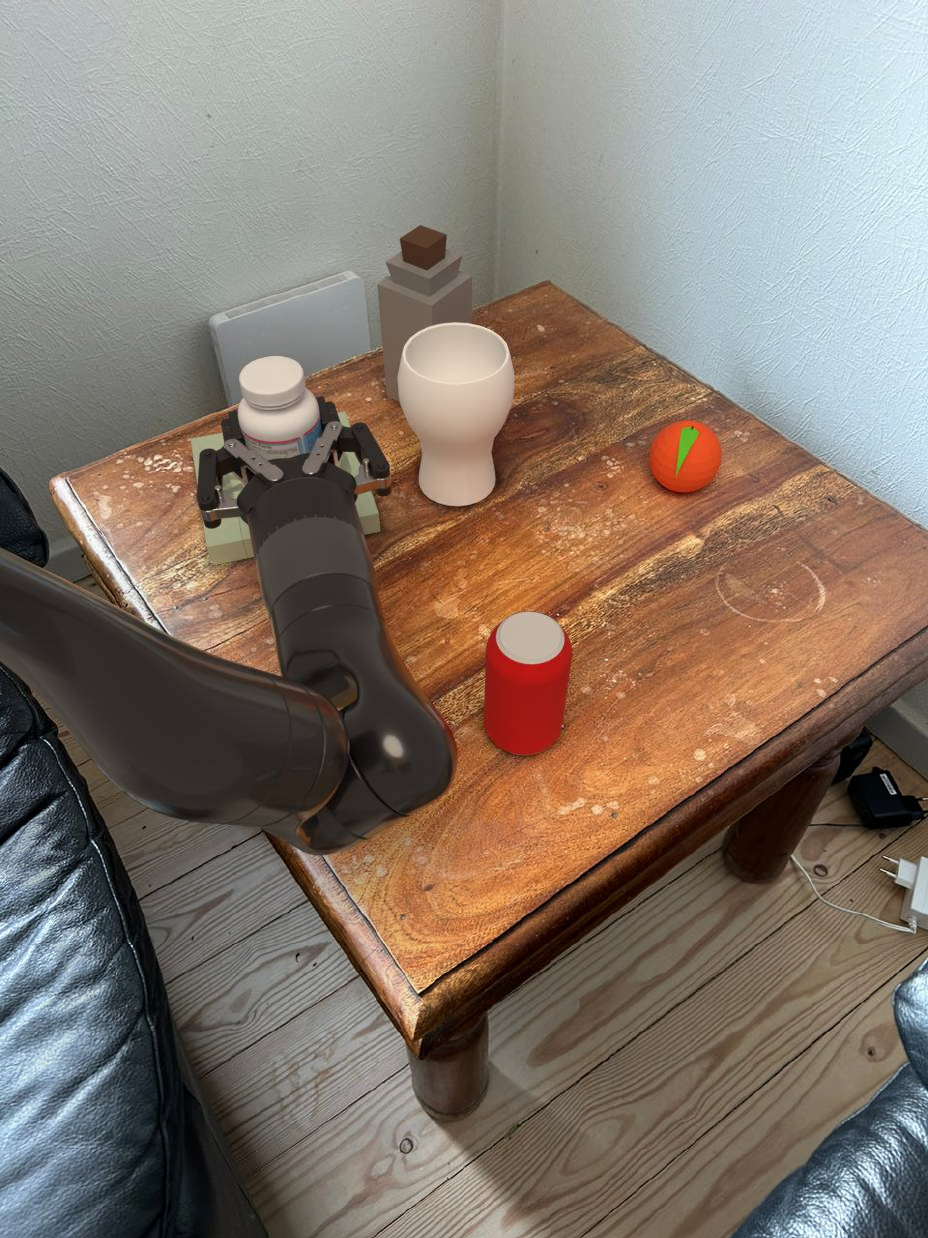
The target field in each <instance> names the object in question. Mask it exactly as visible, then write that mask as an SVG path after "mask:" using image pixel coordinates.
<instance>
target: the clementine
mask: <svg viewBox="0 0 928 1238" xmlns="http://www.w3.org/2000/svg"><path fill="white" fill-rule="evenodd" d="M722 455H723V449H722V445H721V443H720V440H719V438H718V436H717V435H716V434H715V433H714V431H713V430H712V429H711V428H710V427H709V426H708V425H705V424H703V423H701V422H698V421H696V420H695V421H694V420H679V421H675V422H673V423H670V424H669V425H667V426H665V427H664V428H663V429H661V430H660V431H659V432H658V434H657V435H656V436H655V438H654V439H653V441H652V442H651V446H650V450H649V455H648V456H649V457H648V461H649V462H648V463H649V467H650V470H651V473H652V474H653V475H652V476H654V478H655V479H656V480H657V481H658V482H659V483H660V485H662V486H663V487H664V488H666V489H668V490H670V491H673V492H675V493H676V492H678V493H691V492H695V491H697V490H701V489H702V488H704V487H706V486H708V484H709V483H711V482H712V480H714V479H715V477H716V476H717V474H718V472H719V470H720V467H721V465H722V459H723V457H722Z"/></svg>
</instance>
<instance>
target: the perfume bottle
mask: <svg viewBox="0 0 928 1238" xmlns="http://www.w3.org/2000/svg"><path fill="white" fill-rule="evenodd" d="M447 237H448V234H446V233H445V232H444V233H443V232H441V231H438V230H436V229H433V228H430V227H427V226H424V225H422V224H420V225H417V226H416V227H415V228H413V229H412V230H410V231H409V232H407V233H406V234H404V235H403V236H401V237H399V243H400V250H401V251H399V252H398V253H396V254H395V255H393V256H392V257H391V258H388V260H386V261H385V265H386V268H387V270H388V273H389V275H388V276H387V277H385V278H384V279H382V280H381V281H379V282H378V283H376V284H377V297H378V309H379V319H380V333H381V334H380V335H381V345H382V359H383V368H384V369H383V373H384V382H385V395H386V397H387V398H390V399H391V400H394V401H395V402H398V403H400V400H399V393H398V379H397V377H398V372H399V367H400V362H401V357H402V352H403V348H404V345H405V344H406V343H407V341H408V340H409V339H410V337H412V336H413V335H414V334H416V333H417V332H419V331H421V330H423V329H425V328H427V327H430V326H434V325H438V324H443V323H454V322H456V323H470V324H473V275H472V274H469V273H466V272H464V271H462V270H460V266H461V262H462V259H463V254H460V253H458V252H455V251H452V250H449V249H447V239H448V238H447Z"/></svg>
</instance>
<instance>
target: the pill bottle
mask: <svg viewBox="0 0 928 1238" xmlns="http://www.w3.org/2000/svg"><path fill="white" fill-rule="evenodd" d="M238 381H239V387H240V392H241V395H242V398H241V400H240V401H239V404H238V409H237V412H238V420H239V425H240V429H241V433H242V437H243V441H244V445H245V446H246V447H247V448H248V449H249V450H251V449H254V450H255V451H257V452H258V453H259V454H260V455H261V456H262V457H264V458H265V459H266V460H271V459H277V458H291V457H294V456H296V455H299V454H305V453H311V451H312V449H313V447H314V444H315V442H316V440H317V438H318V437H321V436H322V434H323V431H322V424H321V418H320V412H319V407H318V403H317V400H316V398H315V397H316V396H315V395H314V394H313V392H312V391H310V389H308V388H307V383H306V378H305V373H304V369H303V366H302V365H301V364H300V363H299V362H298V361H297V360H295V359H293V358H290V357H287V356H282V355H272V356H270V355H269V356H264V357H259V358H257V359H254V360H252V361H251V362H249V363H248V364H246V365H245V366H244V367H243V368H242V369H241V371H240V373H239V377H238Z"/></svg>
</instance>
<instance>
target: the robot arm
mask: <svg viewBox="0 0 928 1238" xmlns="http://www.w3.org/2000/svg"><path fill="white" fill-rule="evenodd" d="M315 398H316V400H317V403H318V407H319V412H320V418H321V424H322V431H323V434H322V436H321V437H318V438H317V440H316V442H315V444H314V447H313V449H312V451H311V453H305V454H299V455H296V456H294V457H291V458H277V459H271V460H266V459H265V458H264V457H262V456H261V455H260V454H259V453H258V452H257V451H255V450H254V449H251V450H249V449H248V448H247V447H246V446H245V445H244V441H243V437H242V433H241V429H240V425H239V420H238V409H235V410H230V411H227V415H228V418H223V419H222V420H221V421H220V427H221V433H223V439H224V446H223V447H222V448H221V449H219V450H217V451H215V450H214V449H211V448H208V449H204V450H202V451H201V452H200V456H199V471H198V486H196V487H197V488H196V502H197V505H198V508H199V512H200V516H201V518H202V519H203V520H202V523H203V522H204V525H205V527H206V528H209V529H214V528H217V527H219V526H220V525H221V520H222V519H224V518H234V517H241V519H242V520H243V521H244V522H245V523H246V524H247V525H248V526H249V532H250V537H251V543H252V548H253V553H254V557H253V558H254V563H255V568H256V575H257V580H258V589H259V592H260V595H261V598H262V599H261V600H262V602H263V605H264V608H265V610H266V613H267V615H268V618H269V622H270V626H271V632H272V637H273V642H274V643H273V644H274V646H275V652H276V660H277V664H278V669H279V673H280V675H278V674H275V673H272V672H268V671H266V670H263V669H260V668H257V667H254V666H249V665H246V664H244V663H239V662H236V661H233V660H230V659H227V658H224V657H220V656H218V655H216V654H213V653H210V652H209V651H205V650H203V649H201V648H199V647H196V646H194V645H192V644H190V643H188V642H186V641H183V640H181V639H179V638H177V637H175V636H173V635H171V634H169V633H167V632H165V631H163V630H161V629H159V628H157V627H156V626H153V625H152V624H151V623H148V622H147V621H144V620H142V619H141V618H139V617H137V616H135V615H134V614H132V613H130V612H128V611H126V610H125V609H123V608H121V607H119V606H118V605H115V604H114V603H112V602H110V601H108V600H106V599H104V598H102V597H100V596H99V595H96V594H94V593H93V592H91V591H89V590H87V589H85V588H83V587H81V586H79V585H77V584H75V583H73V582H72V581H69V580H67V579H65V578H63V577H61V576H59V575H58V574H55V573H53V572H51V571H49V570H47V569H44V568H43V567H41V566H38V565H36V564H35V563H32V562H31V561H28V560H26V559H24V558H22V557H20V556H18V555H16V554H14V553H12V552H10V551H9V550H6V549H4V548H2V547H1V546H0V662H1V663H2V664H3V665H4V666H6V667H7V668H8V669H10V670H11V671H12V672H13V673H14V674H16V675H17V676H18V677H19V678H20V679H21V680H22V681H23V682H24V683H25V684H26V685H27V686H28V687H29V688H30V689H31V690H32V691H33V692H34V693H35V694H36V695H37V696H38V697H39V698H40V699H41V700H42V701H43V702H44V703H45V704H46V706H47V707H48V708H49V709H50V710H51V712H52V713H53V714H54V715H55V717H56V718H57V719H58V720H59V721H60V722H61V723H62V725H63V726H64V727H65V728H66V730H67V731H68V732H69V733H70V735H71V736H72V737H73V739H74V740H75V741H76V743H77V744H78V745H79V747H80V748H81V749H82V751H83V752H84V753H85V754H86V756H87V757H88V758H89V759H90V760H91V761H92V763H93V764H94V765H95V766H96V767H97V769H98V770H99V771H100V772H101V773H102V775H104V776H105V777H106V778H107V780H109V781H110V782H111V783H112V784H113V785H114V786H115V787H117V788H118V789H119V790H120V792H122V793H123V794H125V795H126V796H128V797H129V798H130V799H131V800H132V801H134V802H136V803H138V804H139V805H142V806H144V807H145V808H147V809H149V810H151V811H153V812H155V813H157V814H160V815H162V816H164V817H165V816H166V817H168V818H172V819H176V820H180V821H187V822H193V823H197V824H209V825H210V824H212V825H225V826H238V827H239V826H240V827H253V828H254V827H255V828H260V829H262V830H264V831H265V832H267V833H269V834H270V835H272V836H274V837H276V838H277V839H280V840H281V841H283V842H285V843H286V844H288V845H290V846H292V847H294V848H295V849H297V850H299V851H301V852H302V853H305V854H307V855H310V856H318V857H322V856H323V857H325V856H332V855H339V854H341V853H345V852H347V851H350V850H353V849H355V848H357V847H359V846H361V845H363V844H364V843H367V842H369V841H370V840H372V839H374V838H376V837H377V836H379V835H381V834H383V833H384V832H386V831H388V830H389V829H391V828H393V827H395V826H396V825H398V824H400V823H402V822H404V821H405V820H407V819H409V818H410V817H411V816H413V815H416V814H418V813H419V812H421V811H423V810H424V809H427V808H428V807H430V806H432V805H433V804H435V803H436V802H438V801H439V800H441V799H442V798H443V797H445V795H446V794H447V793H448V792H449V791H450V790H451V788H452V786H453V783H454V781H455V778H456V775H457V772H458V763H459V751H458V750H459V749H458V744H457V740H456V738H455V735H454V733H453V731H452V729H451V727H450V725H449V724H448V722H447V721H446V719H445V718H444V717H443V715H442V713H441V712H440V711H439V709H438V708H437V707H436V706H435V704H434V702H433V701H432V700H431V699H430V698H429V696H428V695H427V694H426V693H425V692H424V690H423V689H422V687H421V686H420V685H419V684H418V682H417V680H416V679H415V678H414V676H413V675H412V673H411V671H410V670H409V668H408V666H407V665H406V663H405V661H404V660H403V658H402V656H401V654H400V653H399V651H398V649H397V647H396V645H395V643H394V640H393V638H392V636H391V633H390V629H389V626H388V622H387V619H386V616H385V613H384V608H383V606H382V602H381V598H380V596H379V595H380V594H379V590H378V581H377V580H378V579H377V574H376V569H375V564H374V562H373V558H372V556H371V552H370V549H369V545H368V542H367V538H366V535H364V531H363V528H362V525H361V521H360V518H359V515H358V511H357V508H356V505H355V502H356V500H357V498H358V495H359V494H362V493H366V492H369V491H372V492H373V491H374V492H375V494H376V495H377V496H379V497H388V496H390V495H391V494H392V491H393V490H392V479H391V478H392V477H391V466H390V463H389V461H388V459H387V457H386V456H385V454H384V452H383V450H382V449H381V447H380V444H379V443H378V442H377V440H376V438H375V436H374V435H373V433H372V432H371V430H370V428H369V426H368V424H367V423H365V422H358V421H357V422H355V423H353V424H352V425H351V426H350V427H345V426H343V425H342V424H341V423H340V419H339V416H338V410H337V407H336V404H335V403H334V402H333V401H332V400H328V401H326V399H325V396H324V395H320V396H315ZM345 452H354V453H355V456H356V458H357V459H358V461H359V463H360V466H359V474H358V475H357V476H355V477H353V475H351V474H350V473H348V472H346V471H345V470H343V469H341V468H339V467H340V464H341V461H342V459H343V457H344V454H345ZM229 473H232V474H233V475H234V476H235V477H236V478H237V479H239V480H240V481H241V482H242V483H243V484H244V486H245V487H244V488H243V490H242V491H241V492H240V493H239V495H238V497H237V499H233V498H231V497H230V496H229V494H228V492H227V491H226V490H223V476H224V475H226V474H229Z"/></svg>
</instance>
